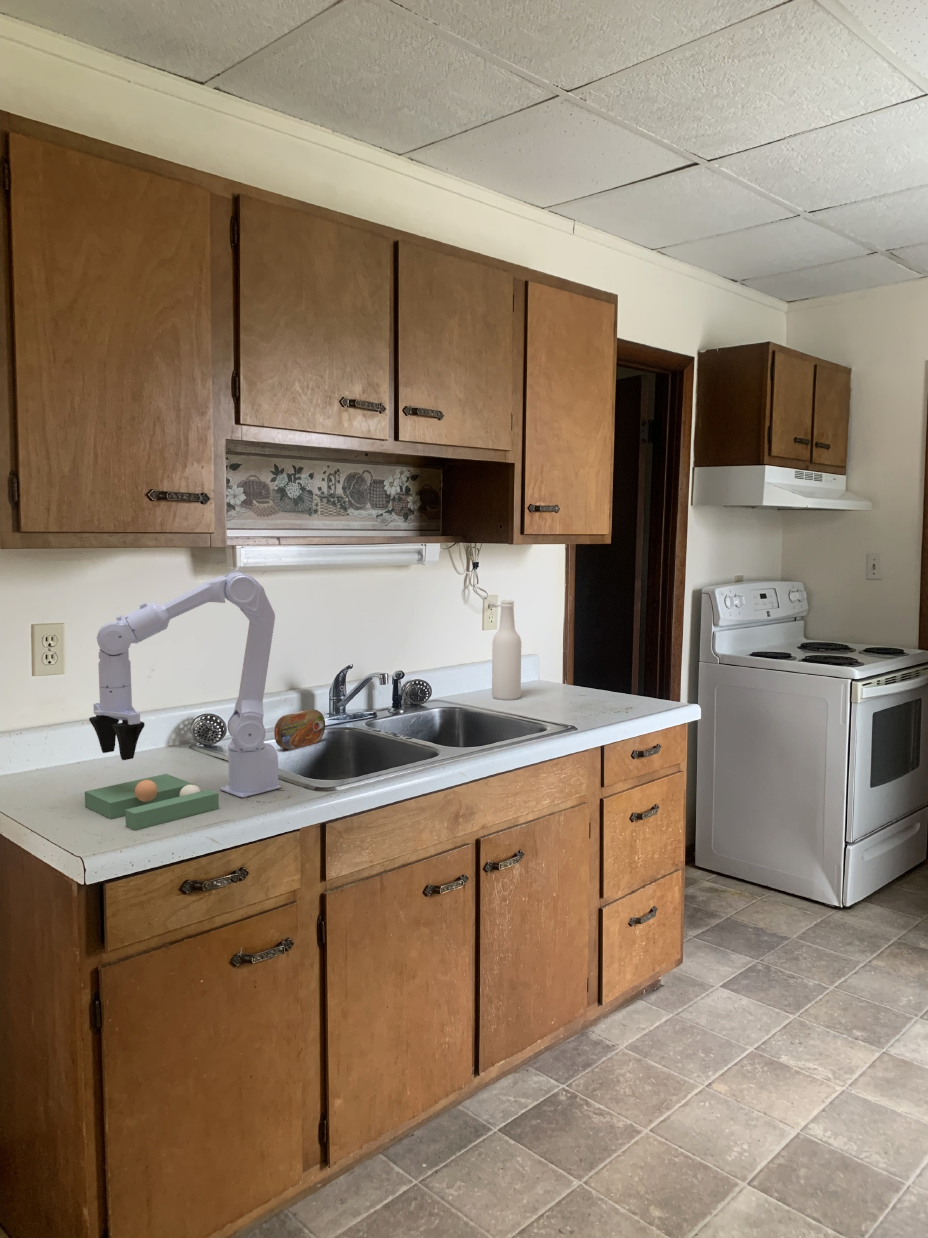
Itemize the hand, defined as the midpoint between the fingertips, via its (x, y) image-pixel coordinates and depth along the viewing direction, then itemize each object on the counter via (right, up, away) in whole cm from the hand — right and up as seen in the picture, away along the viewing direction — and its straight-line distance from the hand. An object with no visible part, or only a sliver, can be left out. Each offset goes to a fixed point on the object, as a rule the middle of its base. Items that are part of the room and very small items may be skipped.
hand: (117, 755), depth 178 cm
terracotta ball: (+7, -6, -5) cm, 11 cm away
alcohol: (+79, +2, +108) cm, 134 cm away
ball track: (+7, -10, -1) cm, 12 cm away
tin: (+27, -5, +47) cm, 54 cm away
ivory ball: (+14, -8, 0) cm, 16 cm away
